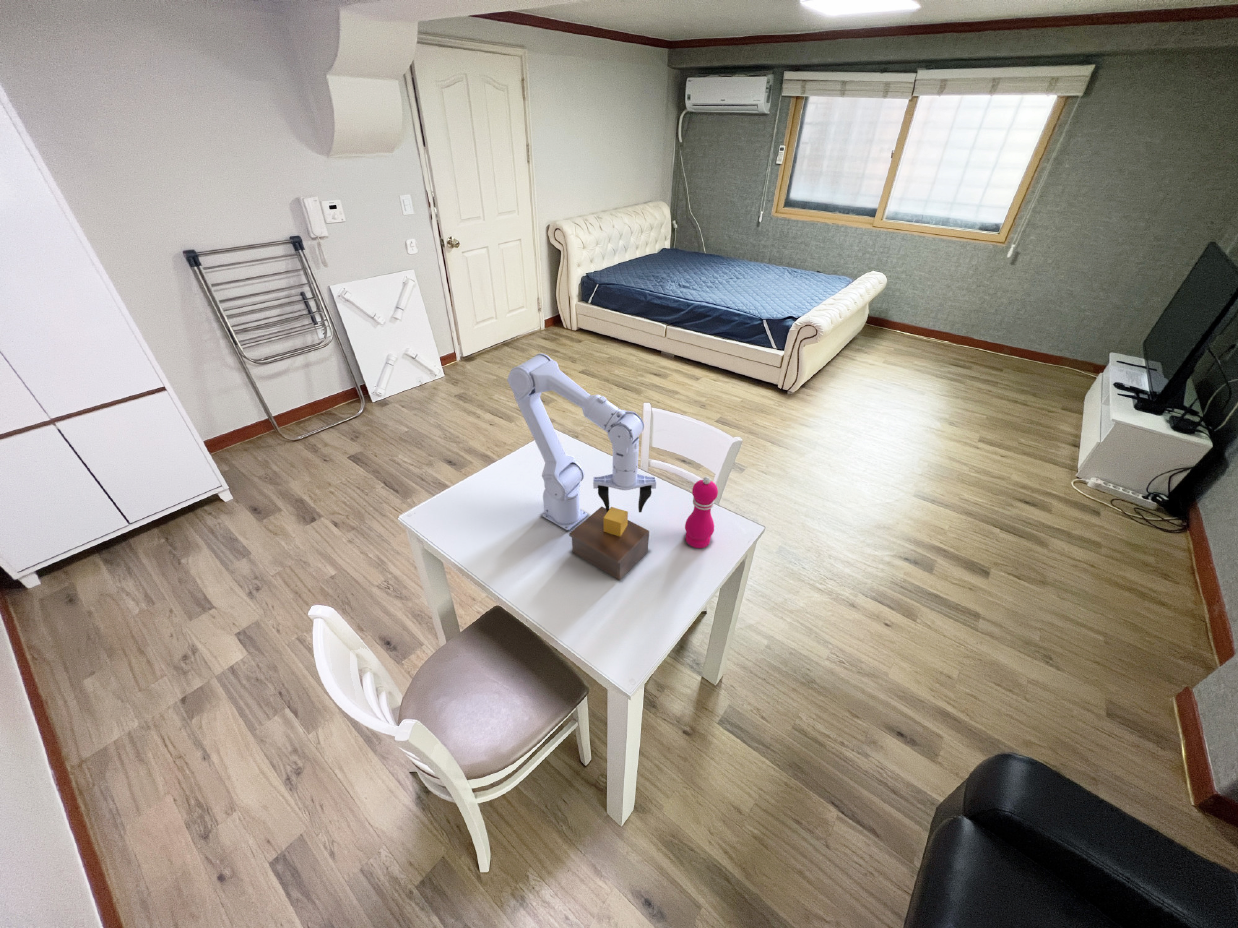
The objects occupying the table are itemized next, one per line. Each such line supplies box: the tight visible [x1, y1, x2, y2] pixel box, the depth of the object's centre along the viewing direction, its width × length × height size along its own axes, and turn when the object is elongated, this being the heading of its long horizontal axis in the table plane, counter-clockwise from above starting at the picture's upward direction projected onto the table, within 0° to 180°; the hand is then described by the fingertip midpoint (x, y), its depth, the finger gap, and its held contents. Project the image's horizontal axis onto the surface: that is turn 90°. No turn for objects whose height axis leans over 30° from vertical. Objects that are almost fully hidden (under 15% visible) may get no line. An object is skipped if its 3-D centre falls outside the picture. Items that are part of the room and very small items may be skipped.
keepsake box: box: [571, 533, 650, 581], centre depth 119 cm, size 12×15×6 cm
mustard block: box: [604, 506, 629, 537], centre depth 116 cm, size 4×4×4 cm
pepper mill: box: [684, 476, 719, 549], centre depth 119 cm, size 7×7×20 cm
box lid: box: [568, 506, 650, 564], centre depth 116 cm, size 12×15×1 cm
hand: (623, 509), depth 118 cm, fingers open, 7 cm apart
